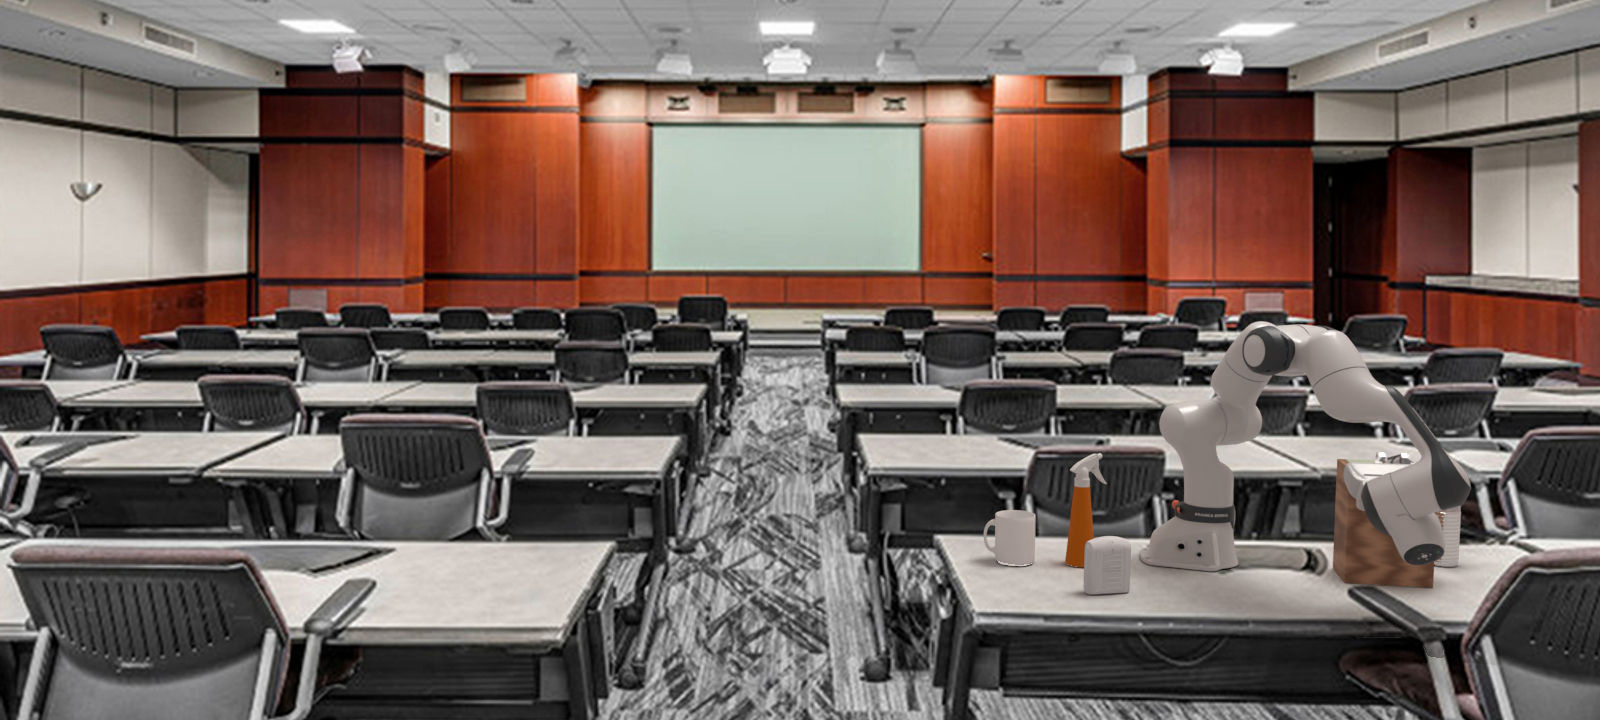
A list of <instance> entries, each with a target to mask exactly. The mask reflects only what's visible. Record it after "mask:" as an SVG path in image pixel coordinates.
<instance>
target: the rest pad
mask: <svg viewBox="0 0 1600 720" xmlns="http://www.w3.org/2000/svg"><path fill="white" fill-rule="evenodd" d="M1344 459H1345V460H1346V461H1347V462H1362V463H1374V462H1375V460H1376V459H1358V458H1357V459H1354V458H1352V459H1351V458H1344Z"/></svg>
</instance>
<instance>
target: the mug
mask: <svg viewBox="0 0 1600 720" xmlns="http://www.w3.org/2000/svg"><path fill="white" fill-rule="evenodd" d="M994 516H995V517H994V518H993V519H991V520H989V521H988V522H987V523H986V524H985V526H984V529H983V543H984V546H985V548H986V549H987V550H988V551H989V552H992V553H993V554H994V560H995V559H996V560H998V561H1000V562H1003V563H1008V564H1015V565H1024V564H1031V563H1033V562H1034V563H1035V559H1036V513H1034V512H1030V511H1027V510H1020V509H1019V510H1017V509H1007V510H1000V511H996V512H995V513H994ZM990 526H995V527H994V528H995V529H994V546H993V547H992V546H990V545H989V543H988V539H987V538H988V537H987V535H988V534H987V533H988V530H989V528H990ZM996 560H995V561H996ZM1034 563H1033V564H1034Z"/></svg>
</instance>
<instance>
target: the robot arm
mask: <svg viewBox="0 0 1600 720" xmlns="http://www.w3.org/2000/svg"><path fill="white" fill-rule="evenodd" d="M1273 376H1280V377H1299V376H1306V377H1307V378H1308V382H1309V383H1310V386H1311V389H1312V392H1313V394H1314V396H1315V398H1316V400H1317V402H1318V403H1319V405H1320V406H1321V408H1322V410H1323V411H1324V413H1325V414H1327V415H1328V416H1330V417H1331V418H1333V419H1335V420H1338V421H1342V422H1346V423H1351V424H1353V423H1354V424H1355V423H1356V424H1358V423H1359V424H1362V423H1363V424H1364V423H1374V422H1375V423H1376V422H1377V423H1379V422H1380V423H1381V422H1382V423H1384V422H1385V423H1391V424H1396V425H1398V426H1399V427H1400V428H1401V430H1402V431H1403V432H1404V434H1405V436H1407V438H1408V439H1409V440H1410V441H1411V443H1412V445H1413V446H1414V447H1415V448H1416V450H1417V451H1418V453H1419V454H1420V456H1421V457H1420V459H1419V460H1418V461H1416V460H1415V459H1413V458H1412V457H1411V456H1410V454H1409V452H1405V453H1404V452H1401V453H1399V454H1400V457H1399V459H1400V462H1401V464H1388V463H1385V461H1386V460H1387V455H1386V453H1385V452H1383V451H1381V452H1380V451H1376V452H1375V453H1376V454H1375V459H1374V460H1375V462H1374V463H1362V462H1349V463H1347V464H1346V465H1345V468H1344V474H1343V477H1344V481H1345V484H1346V486H1347V489H1348V491H1349V493H1350V494H1351V496H1352V497H1354V498H1355V499H1357V500H1356V506H1357V508H1358V509H1359V510H1362V511H1365V512H1366V515H1367V517H1368V519H1369V521H1370V522H1371V524H1372V525H1373V526H1374V527H1375V528H1376V529H1377V530H1379V531H1380V532H1382V533H1384V534H1386V535H1388V536H1392V538H1393V541H1394V543H1395V546H1396V548H1397V550H1398V552H1399V554H1400V555H1401V557H1402V559H1403V560H1404V561H1405V562H1406V563H1408V564H1411V565H1426V564H1429V563H1432V562H1435V561H1437V560H1439V559H1440V558H1441V557H1442V556H1443V555H1444V553H1445V540H1444V535H1443V530H1442V527H1441V524H1440V521H1439V518H1438V517H1437V515H1436V514H1435V512H1437V511H1440V510H1446V509H1450V508H1454V507H1458V506H1461V507H1462V506H1463V505H1464V503H1465V501H1466V500H1467V498H1468V496H1469V495H1470V492H1471V490H1472V487H1471V481H1470V479H1469V477H1468V474H1467V472H1466V471H1465V470H1464V468H1463V467H1462V466H1461V465H1460V463H1458V461H1457V460H1455V458H1453V457H1452V456H1451V455H1450V454H1449V453H1448V452H1447V451H1446V449H1445V448H1444V447H1443V445H1442V444H1441V443H1440V441H1439V440H1438V438H1437V437H1436V436H1435V435H1434V433H1433V432H1432V430H1431V429H1430V428H1429V427H1428V425H1427V424H1426V423H1425V421H1424V420H1423V419H1422V417H1421V416H1420V415H1419V413H1418V412H1417V411H1416V409H1414V407H1413V406H1412V404H1411V403H1410V402H1409V401H1408V400H1407V398H1406V397H1405V395H1403V394H1402V392H1400V391H1399V390H1398V389H1397V388H1395V387H1394V386H1392V385H1383V384H1382V383H1380V382H1379V381H1377V380H1376V379H1375V378H1374V377H1373V375H1372V373H1371V372H1370V369H1369V367H1368V365H1367V364H1366V362H1365V360H1364V359H1363V357H1362V355H1361V353H1360V352H1359V350H1358V348H1357V347H1356V346H1355V344H1354V343H1353V342H1352V341H1351V340H1350V338H1349V337H1348V336H1347V334H1345V333H1344V332H1342V331H1339V330H1337V329H1335V328H1332V327H1330V326H1326V325H1311V324H1300V323H1299V324H1298V323H1297V324H1287V325H1286V324H1284V325H1275V324H1274V323H1271V322H1268V321H1263V320H1261V321H1254V322H1252V323H1250V324H1248V325H1247V326H1246V327H1245V328H1244V329H1243V330H1242V331H1241V333H1240V334H1238V336H1237V337H1236V338H1235V340H1234V341H1233V342H1232V343H1231V345H1230V346H1229V348H1228V349H1227V351H1226V352H1225V353H1224V355H1223V357H1222V358H1221V360H1220V362H1219V363H1218V365H1217V367H1216V368H1215V369H1214V372H1213V373H1212V375H1211V379H1210V380H1211V385H1212V386H1211V387H1212V390H1213V391H1214V393H1215V394H1216V395H1215V396H1214V397H1212V398H1210V399H1203V400H1201V399H1200V400H1185V401H1181V402H1177V403H1175V404H1171V405H1168V406H1166V407H1165V408H1164V409H1163V411H1162V413H1161V415H1160V418H1159V422H1158V423H1159V431H1160V433H1161V436H1162V438H1163V439H1164V440H1165V442H1166V443H1167V444H1168V445H1170V446H1171V447H1172V448H1173V450H1175V451H1176V454H1178V457H1179V459H1180V461H1181V465H1182V469H1183V482H1184V483H1183V486H1184V487H1183V488H1184V489H1183V492H1184V493H1183V494H1184V495H1183V500H1182V501H1179V500H1177V499H1174V500H1173V501H1171V506H1172V508H1173V509H1174V516H1173V517H1172V518H1171V519H1169V520H1168V521H1166V522H1164V523H1163V524H1161V525H1159V526H1158V527H1157V528H1155V529H1154V530H1153V532H1152V534H1151V536H1150V540H1149V545H1148V546H1146V547H1144V548H1141V549H1140V551H1139V560H1140V561H1142V562H1143V563H1144V564H1146V565H1149V566H1155V567H1156V566H1157V567H1166V568H1167V567H1168V568H1175V569H1176V568H1177V569H1187V570H1193V571H1195V570H1196V571H1203V572H1205V571H1206V572H1217V571H1220V570H1222V569H1224V570H1225V569H1229V568H1234V567H1237V566H1238V565H1239V560H1238V557H1237V552H1236V545H1235V535H1234V528H1235V524H1236V509H1235V508H1236V506H1235V504H1234V485H1235V484H1234V483H1235V482H1234V481H1235V478H1234V477H1235V475H1234V472H1233V471H1232V469H1231V468H1230V466H1228V465H1227V464H1225V463H1223V462H1221V461H1220V459H1219V457H1218V453H1217V446H1219V447H1220V446H1233V445H1234V446H1235V445H1239V444H1243V443H1246V442H1249V441H1251V440H1254V439H1257V437H1258V436H1259V435H1260V432H1261V431H1262V427H1263V417H1262V414H1261V410H1260V409H1259V408H1258V406H1257V401H1258V399H1259V397H1260V395H1261V394H1262V392H1263V391H1264V389H1265V388H1266V386H1267V385H1268V383H1269V381H1270V380H1271V379H1272V377H1273Z"/></svg>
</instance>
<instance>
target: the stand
mask: <svg viewBox="0 0 1600 720" xmlns="http://www.w3.org/2000/svg"><path fill="white" fill-rule="evenodd" d="M1345 459H1346V458H1337V459H1336V477H1335V478H1336V479H1335V481H1336V482H1335V502H1334V503H1335V506H1334V527H1333V528H1334V529H1333V549H1332V550H1333V553H1332V555H1333V558H1332V569H1333V571H1334V572H1335V573H1336V574H1337V576H1338V577H1339V578H1340V580H1342V582H1343V583H1344V584H1355V585H1357V584H1358V585H1371V584H1377V585H1376V586H1388V585H1389V586H1391V585H1395V586H1394V587H1405V586H1415V587H1414V588H1422V587H1428V588H1427V589H1434V577H1435V575H1434V574H1435V566H1434V562H1432V563H1429V564H1426V565H1411V564H1408V563H1406V562H1405V561H1404V560H1403V559H1402V557H1401V555H1400V554H1399V552H1398V550H1397V548H1396V546H1395V543H1394V541H1393V538H1392V536H1388V535H1386V534H1384V533H1382V532H1380V531H1379V530H1377V529H1376V528H1375V527H1374V526H1373V525H1372V524H1371V522H1370V521H1369V519H1368V517H1367V515H1366V512H1365V511H1362V510H1359V509H1358V508H1357V506H1356V500H1357V499H1355V498H1354V497H1352V496H1351V494H1350V493H1349V491H1348V489H1347V486H1346V484H1345V481H1344V477H1343V474H1344V468H1345V465H1346V464H1347V463H1349V462H1347V461H1346V460H1345ZM1386 461H1387V460H1385V462H1386ZM1435 514H1436V515H1437V512H1435ZM1389 586H1388V587H1389ZM1391 587H1392V586H1391Z"/></svg>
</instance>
